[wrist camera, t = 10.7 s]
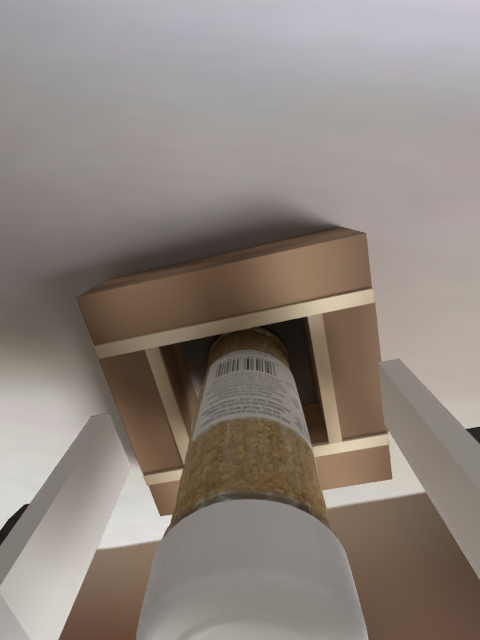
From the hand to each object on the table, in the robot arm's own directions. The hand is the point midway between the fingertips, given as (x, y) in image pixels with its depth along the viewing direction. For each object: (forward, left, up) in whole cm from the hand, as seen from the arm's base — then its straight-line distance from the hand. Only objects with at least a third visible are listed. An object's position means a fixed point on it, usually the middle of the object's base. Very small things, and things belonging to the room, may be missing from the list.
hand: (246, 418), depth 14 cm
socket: (0, 0, -6) cm, 6 cm away
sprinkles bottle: (0, 0, -6) cm, 6 cm away
